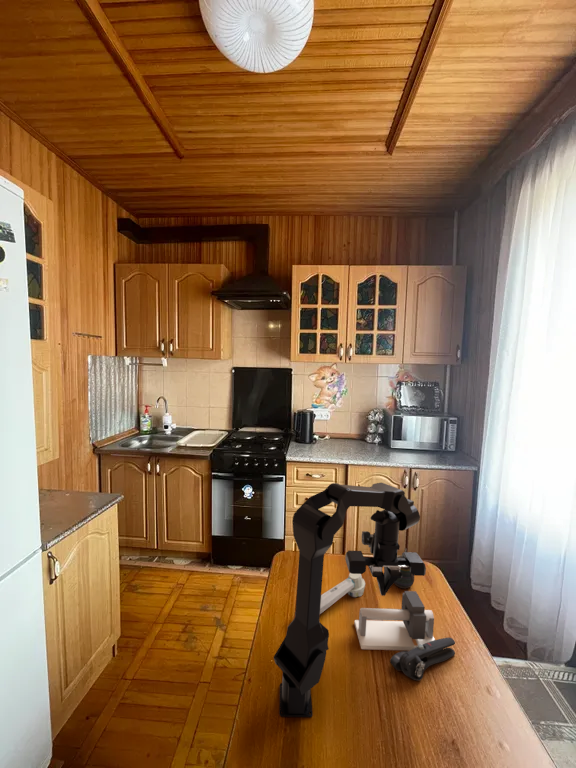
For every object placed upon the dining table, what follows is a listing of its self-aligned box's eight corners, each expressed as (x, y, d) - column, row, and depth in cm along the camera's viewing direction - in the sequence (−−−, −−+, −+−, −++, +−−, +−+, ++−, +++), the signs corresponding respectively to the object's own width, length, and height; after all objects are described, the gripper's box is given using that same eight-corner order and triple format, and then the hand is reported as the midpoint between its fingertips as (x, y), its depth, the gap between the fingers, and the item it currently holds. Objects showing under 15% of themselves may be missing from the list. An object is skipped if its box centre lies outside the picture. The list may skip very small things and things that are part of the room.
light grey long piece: (292, 606, 92) (355, 562, 107) (294, 627, 93) (355, 581, 108) (305, 618, 88) (368, 571, 103) (307, 640, 89) (369, 590, 104)
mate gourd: (389, 588, 106) (391, 557, 105) (389, 574, 113) (391, 545, 113) (414, 594, 104) (416, 562, 103) (413, 579, 111) (415, 549, 111)
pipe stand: (438, 651, 84) (441, 623, 83) (361, 649, 84) (363, 620, 83) (425, 625, 92) (427, 599, 91) (354, 623, 91) (356, 597, 91)
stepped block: (424, 641, 84) (426, 610, 83) (412, 641, 84) (414, 610, 83) (411, 616, 92) (414, 588, 91) (400, 616, 92) (402, 587, 91)
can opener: (407, 691, 74) (409, 667, 73) (386, 664, 80) (387, 641, 79) (466, 664, 81) (468, 642, 80) (442, 641, 87) (444, 620, 87)
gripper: (411, 520, 94) (407, 575, 95) (343, 518, 93) (340, 573, 95) (428, 543, 83) (424, 604, 84) (351, 540, 82) (347, 602, 84)
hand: (382, 594), depth 87 cm, fingers closed
